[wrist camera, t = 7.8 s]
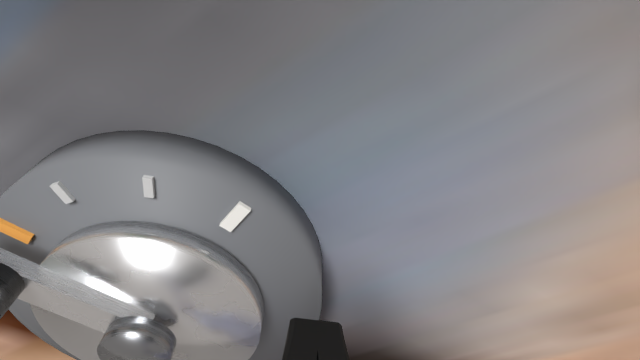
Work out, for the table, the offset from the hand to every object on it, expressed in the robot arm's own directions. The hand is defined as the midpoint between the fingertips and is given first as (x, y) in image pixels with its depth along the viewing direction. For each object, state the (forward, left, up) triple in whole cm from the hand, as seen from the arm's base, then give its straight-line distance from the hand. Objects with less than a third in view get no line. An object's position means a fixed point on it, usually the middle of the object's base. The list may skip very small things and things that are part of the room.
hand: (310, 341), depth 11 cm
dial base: (-8, +7, -9) cm, 14 cm away
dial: (-7, +8, -7) cm, 13 cm away
